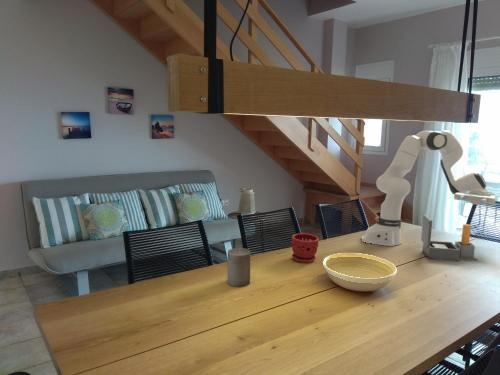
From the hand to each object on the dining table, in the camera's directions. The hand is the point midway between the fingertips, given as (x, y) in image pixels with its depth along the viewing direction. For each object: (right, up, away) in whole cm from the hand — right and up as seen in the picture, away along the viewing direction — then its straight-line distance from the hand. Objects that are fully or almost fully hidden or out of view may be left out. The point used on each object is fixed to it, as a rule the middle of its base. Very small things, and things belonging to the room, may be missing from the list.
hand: (472, 200), depth 210 cm
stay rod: (-10, -28, -9) cm, 31 cm away
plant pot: (-95, -29, -19) cm, 101 cm away
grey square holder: (-10, -29, -9) cm, 32 cm away
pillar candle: (-127, -33, -49) cm, 140 cm away
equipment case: (-22, -29, -9) cm, 37 cm away
